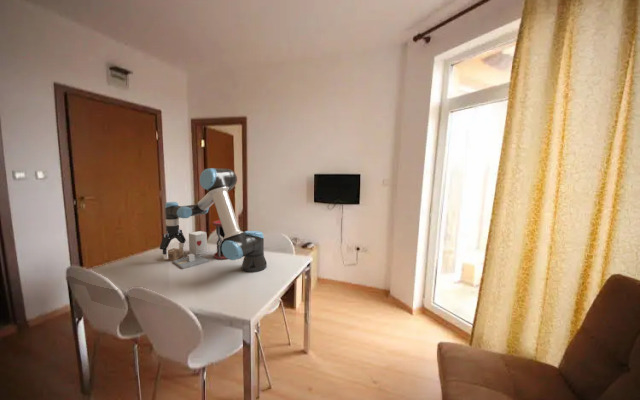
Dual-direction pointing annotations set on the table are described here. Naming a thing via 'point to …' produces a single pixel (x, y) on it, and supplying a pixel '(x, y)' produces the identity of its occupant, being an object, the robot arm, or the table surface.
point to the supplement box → (197, 242)
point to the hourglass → (219, 246)
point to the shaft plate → (190, 261)
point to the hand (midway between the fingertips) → (174, 255)
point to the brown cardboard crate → (175, 254)
